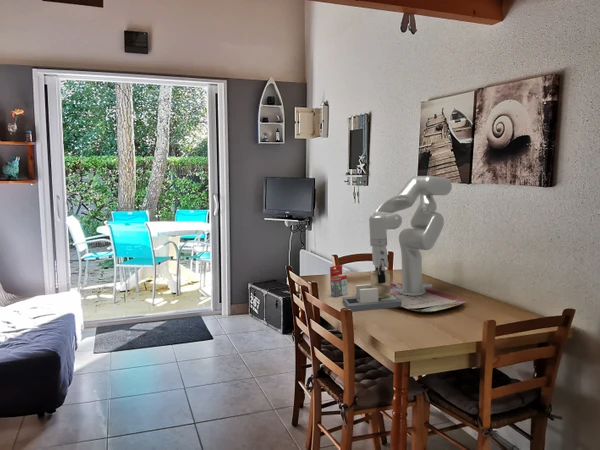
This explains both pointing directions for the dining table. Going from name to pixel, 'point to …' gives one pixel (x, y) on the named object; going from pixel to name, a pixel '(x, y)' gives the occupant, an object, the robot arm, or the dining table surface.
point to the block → (381, 284)
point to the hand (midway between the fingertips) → (380, 281)
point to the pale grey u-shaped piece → (366, 293)
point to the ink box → (338, 281)
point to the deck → (382, 303)
